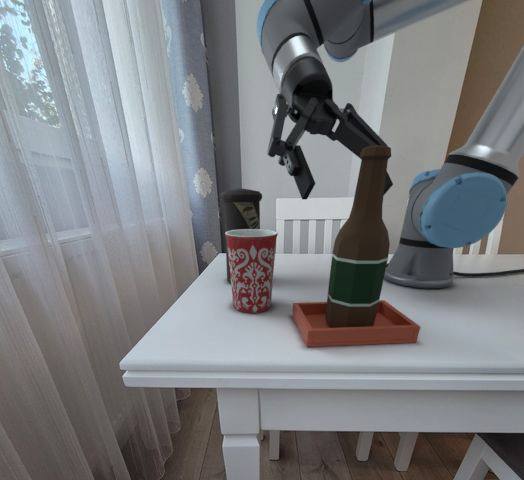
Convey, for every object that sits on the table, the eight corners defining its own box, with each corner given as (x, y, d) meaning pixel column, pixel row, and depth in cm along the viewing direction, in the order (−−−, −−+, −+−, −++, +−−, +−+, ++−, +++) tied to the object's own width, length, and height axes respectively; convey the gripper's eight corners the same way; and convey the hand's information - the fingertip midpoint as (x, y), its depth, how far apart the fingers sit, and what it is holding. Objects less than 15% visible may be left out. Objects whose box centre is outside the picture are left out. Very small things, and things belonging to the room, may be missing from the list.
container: (255, 287, 68) (254, 188, 58) (219, 284, 70) (213, 188, 60) (266, 278, 75) (267, 188, 65) (234, 275, 77) (230, 188, 68)
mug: (280, 313, 53) (282, 235, 47) (230, 316, 52) (226, 236, 46) (268, 292, 64) (269, 226, 58) (227, 294, 63) (223, 227, 57)
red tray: (381, 313, 54) (384, 300, 52) (416, 342, 44) (420, 326, 42) (292, 316, 52) (292, 302, 51) (306, 347, 42) (308, 331, 41)
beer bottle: (315, 319, 50) (331, 148, 38) (352, 313, 52) (378, 151, 41) (343, 338, 43) (373, 140, 32) (384, 330, 46) (426, 144, 34)
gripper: (352, 115, 55) (396, 208, 50) (224, 101, 46) (262, 213, 41) (378, 68, 48) (431, 171, 43) (233, 41, 39) (281, 166, 34)
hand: (349, 191), depth 42 cm, fingers open, 13 cm apart
